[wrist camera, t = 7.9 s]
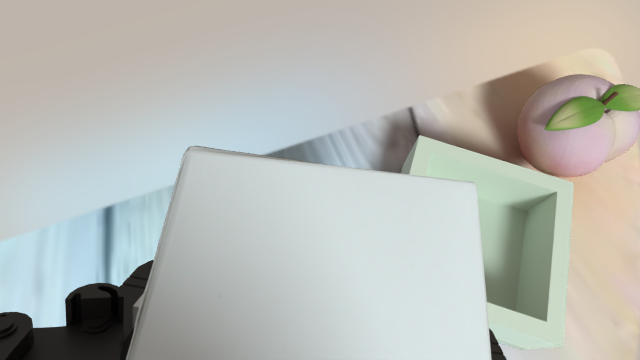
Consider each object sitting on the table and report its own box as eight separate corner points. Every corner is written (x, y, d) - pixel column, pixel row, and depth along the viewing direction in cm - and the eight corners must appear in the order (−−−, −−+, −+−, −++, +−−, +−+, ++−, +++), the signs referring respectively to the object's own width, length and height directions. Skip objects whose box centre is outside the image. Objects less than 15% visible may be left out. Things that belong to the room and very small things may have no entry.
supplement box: (374, 456, 18) (521, 590, 7) (204, 435, 18) (54, 535, 6) (381, 285, 21) (488, 177, 10) (238, 267, 21) (178, 137, 10)
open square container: (367, 297, 33) (381, 284, 28) (402, 165, 38) (419, 134, 33) (520, 349, 32) (563, 346, 27) (535, 207, 37) (573, 182, 32)
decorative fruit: (546, 103, 42) (617, 30, 33) (603, 167, 39) (698, 107, 30) (474, 139, 39) (529, 71, 30) (530, 210, 37) (609, 159, 28)
